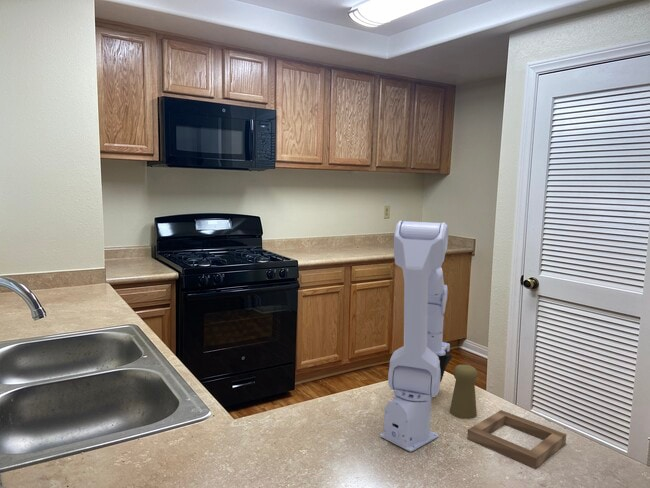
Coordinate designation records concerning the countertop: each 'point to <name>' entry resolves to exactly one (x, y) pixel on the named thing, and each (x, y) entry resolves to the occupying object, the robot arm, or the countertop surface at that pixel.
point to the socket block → (529, 457)
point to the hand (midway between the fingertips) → (427, 384)
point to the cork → (464, 392)
